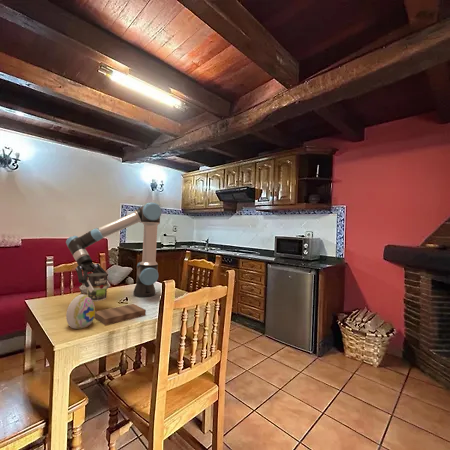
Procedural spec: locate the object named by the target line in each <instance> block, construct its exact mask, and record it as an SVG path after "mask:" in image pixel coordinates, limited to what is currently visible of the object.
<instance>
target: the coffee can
mask: <svg viewBox="0 0 450 450" xmlns="http://www.w3.org/2000/svg"><path fill="white" fill-rule="evenodd" d="M107 275H109V274H108V272H106V273H92V272H89V273H87V280H89V281H90V283H91V285H92V287H93V288H94V290H93V291H92V293H90V291H89V290H88V288H87V294H86V295H87V296H88V297H90V298H91V300H92V301H93V303H95V302H101V301H105V300H107V297H108V296H107V294H108V290H107V279H108V276H107Z"/></svg>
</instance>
